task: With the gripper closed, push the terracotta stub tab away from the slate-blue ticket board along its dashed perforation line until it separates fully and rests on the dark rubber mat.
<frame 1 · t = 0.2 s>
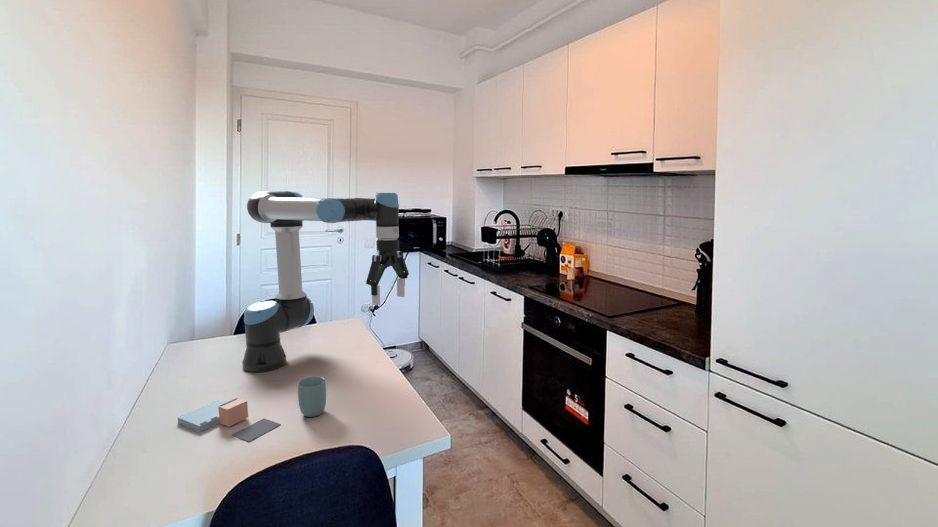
hand: (389, 300, 154), 28 cm above the table, fingers open, 13 cm apart
cup: (313, 414, 132), on the table
mat: (256, 430, 123), on the table
ticket board: (209, 418, 129), on the table
stub: (233, 411, 126), point 3 cm above the table, slide at 0.0 cm
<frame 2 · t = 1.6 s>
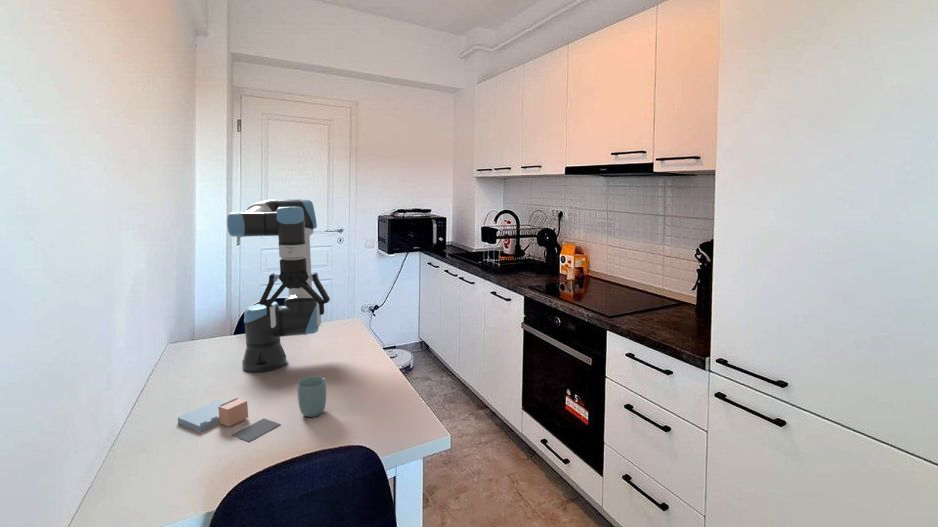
hand: (296, 325, 139), 23 cm above the table, fingers open, 13 cm apart
nothing on the table moved.
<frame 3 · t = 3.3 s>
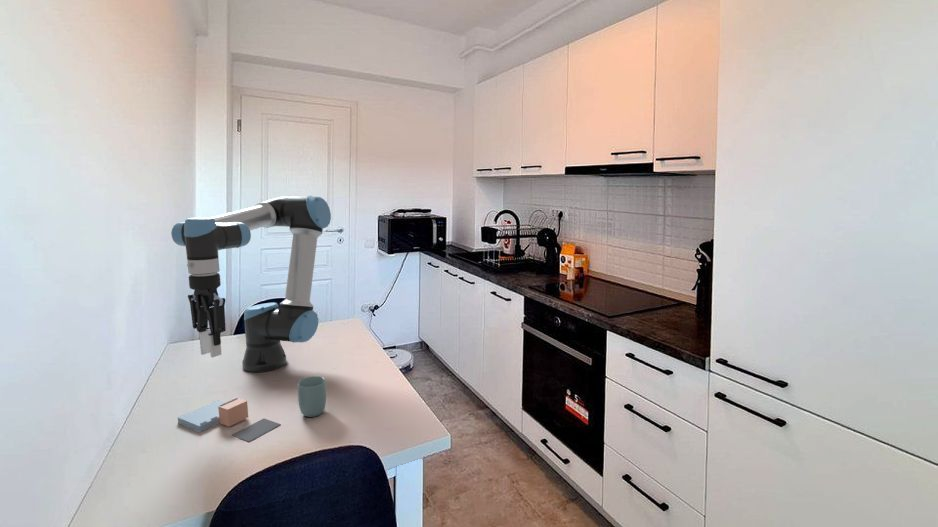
hand: (211, 354, 128), 19 cm above the table, fingers open, 4 cm apart
nothing on the table moved.
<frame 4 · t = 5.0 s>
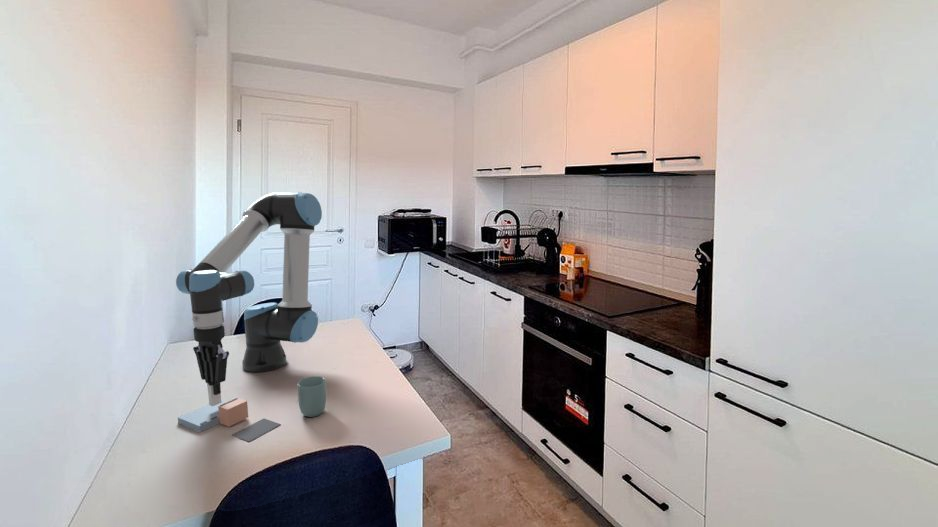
hand: (215, 403, 130), 4 cm above the table, fingers closed
nothing on the table moved.
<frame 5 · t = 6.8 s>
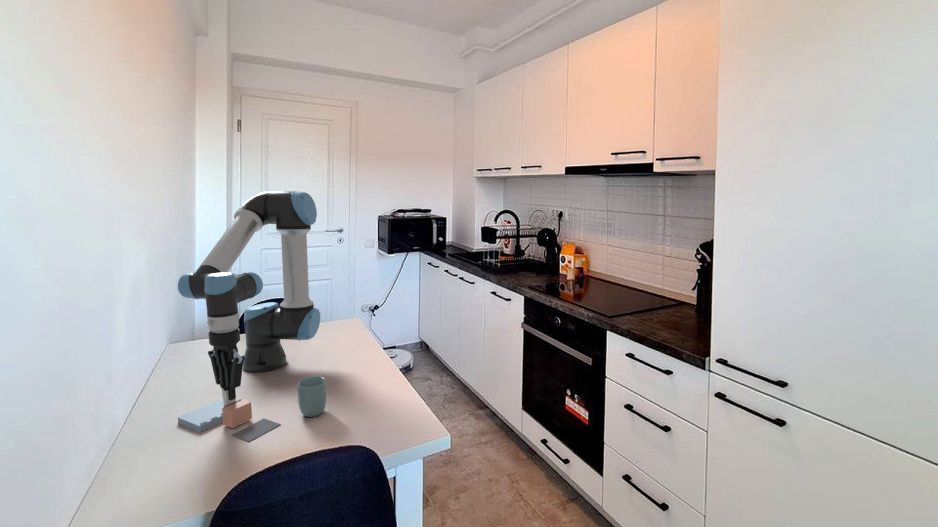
hand: (230, 409, 127), 4 cm above the table, fingers closed
stub: (237, 412, 126), point 3 cm above the table, slide at 1.7 cm, touching gripper
everything else where it was.
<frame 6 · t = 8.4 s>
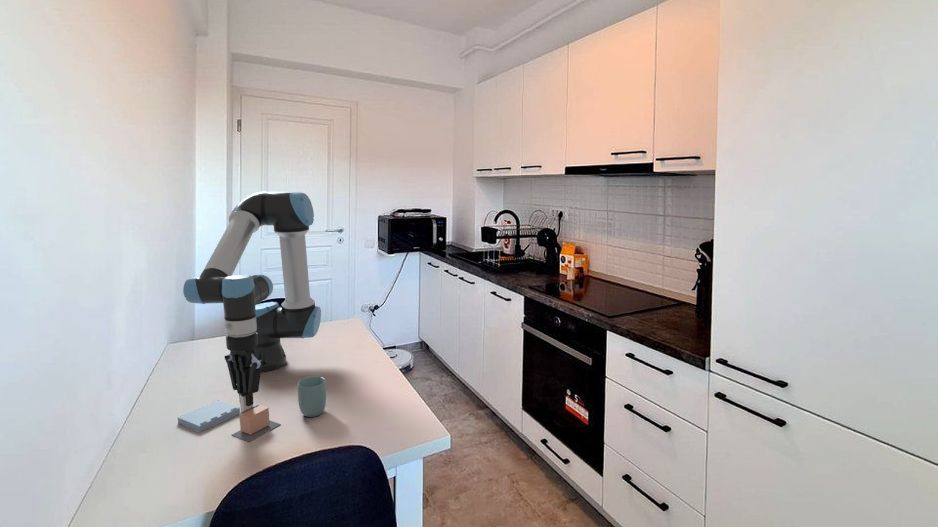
hand: (247, 415, 123), 4 cm above the table, fingers closed
stub: (254, 418, 122), point 3 cm above the table, slide at 9.0 cm, touching gripper
everything else where it was.
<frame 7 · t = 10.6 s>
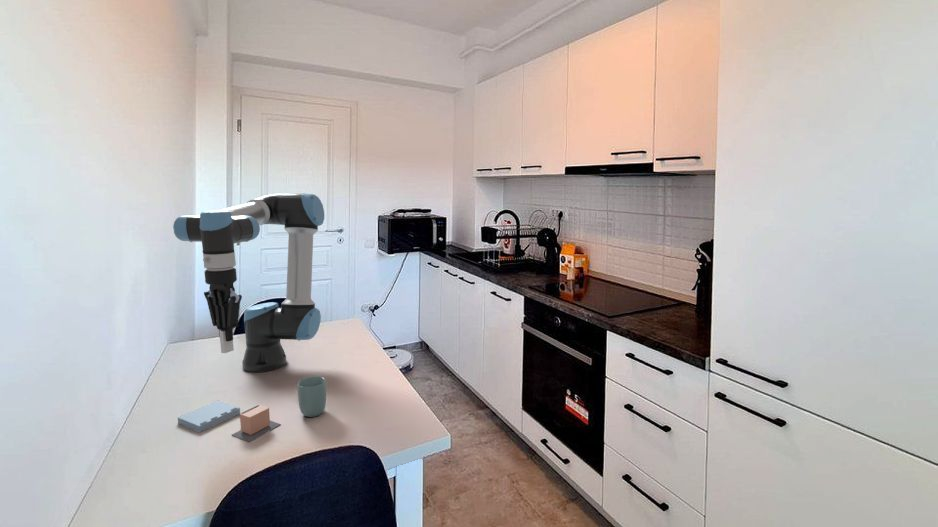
hand: (227, 351, 125), 20 cm above the table, fingers closed
stub: (255, 419, 122), point 3 cm above the table, slide at 9.2 cm
everything else where it was.
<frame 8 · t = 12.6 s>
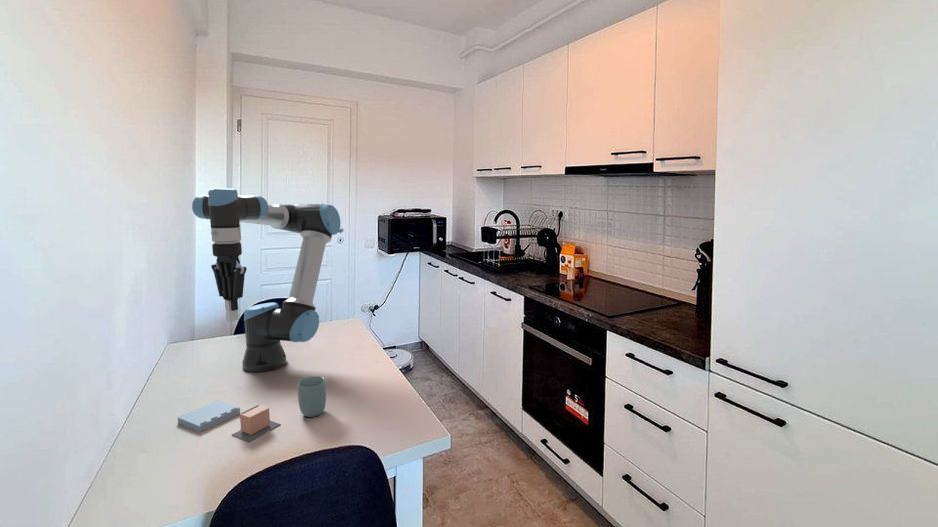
hand: (232, 320, 134), 26 cm above the table, fingers closed
nothing on the table moved.
at the end: stub slide at 9.2 cm; stub touching nothing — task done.
